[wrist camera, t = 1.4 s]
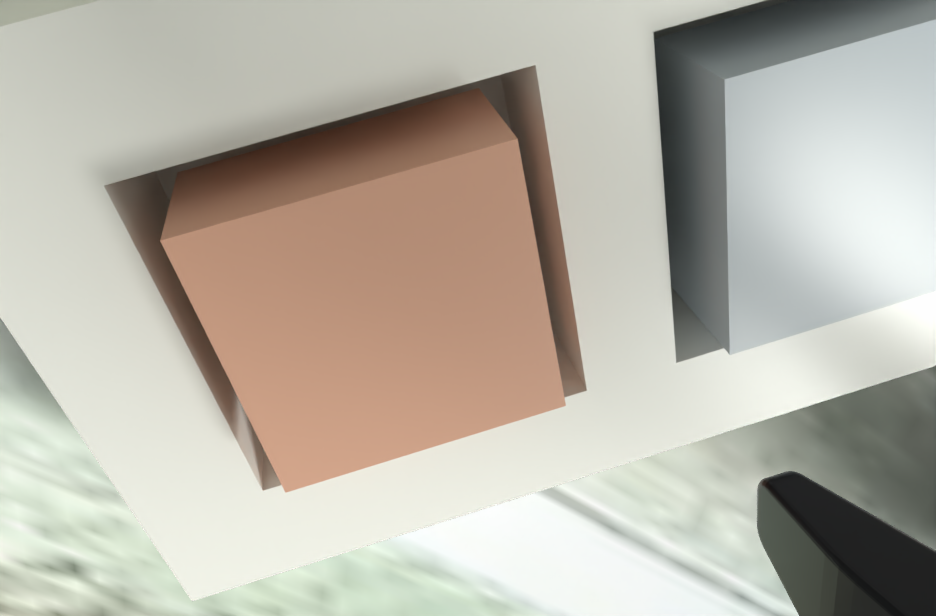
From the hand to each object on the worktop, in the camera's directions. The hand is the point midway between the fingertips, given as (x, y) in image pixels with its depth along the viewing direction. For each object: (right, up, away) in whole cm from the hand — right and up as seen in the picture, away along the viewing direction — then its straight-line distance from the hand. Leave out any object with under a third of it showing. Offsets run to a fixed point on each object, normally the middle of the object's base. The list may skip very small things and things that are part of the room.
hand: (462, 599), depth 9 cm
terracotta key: (-2, +4, +7) cm, 8 cm away
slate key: (+7, +7, +7) cm, 12 cm away
